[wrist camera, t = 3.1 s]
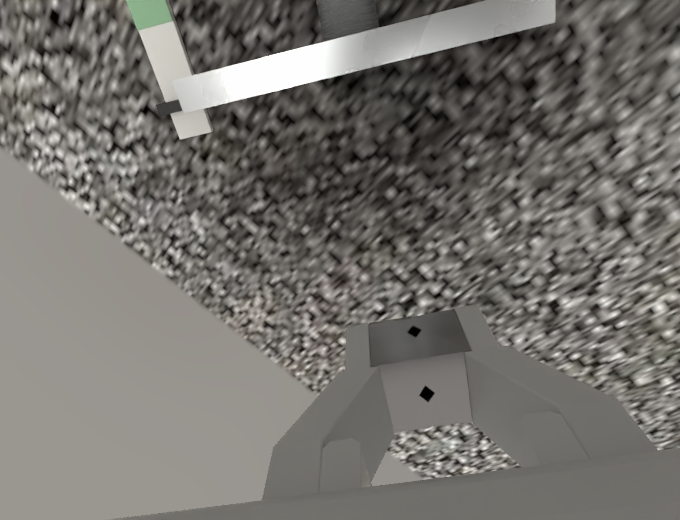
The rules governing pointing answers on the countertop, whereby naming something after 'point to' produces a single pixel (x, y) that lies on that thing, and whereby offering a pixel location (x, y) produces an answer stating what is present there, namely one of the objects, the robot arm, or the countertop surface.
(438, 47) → the plate
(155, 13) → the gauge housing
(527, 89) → the countertop surface
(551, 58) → the countertop surface
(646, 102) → the countertop surface
